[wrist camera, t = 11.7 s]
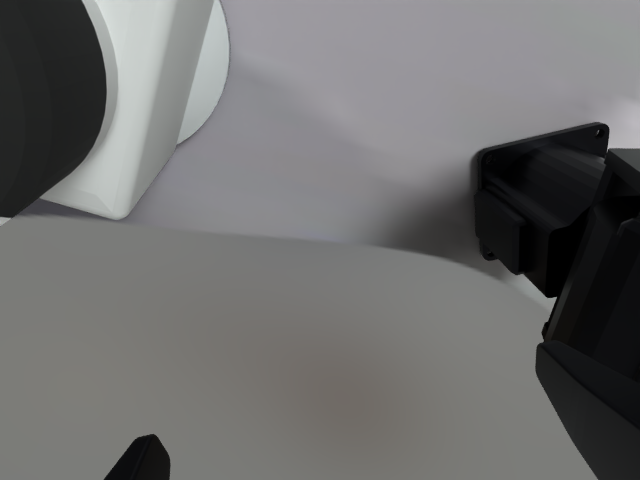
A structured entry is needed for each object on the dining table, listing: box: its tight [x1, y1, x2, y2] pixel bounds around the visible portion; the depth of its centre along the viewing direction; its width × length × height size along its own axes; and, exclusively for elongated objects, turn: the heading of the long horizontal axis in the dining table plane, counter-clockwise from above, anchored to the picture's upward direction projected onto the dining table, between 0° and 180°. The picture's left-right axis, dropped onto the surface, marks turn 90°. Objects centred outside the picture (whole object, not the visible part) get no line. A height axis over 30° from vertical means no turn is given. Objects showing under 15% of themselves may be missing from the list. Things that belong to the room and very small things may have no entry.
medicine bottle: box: [0, 0, 214, 226], centre depth 11 cm, size 7×7×12 cm
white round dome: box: [177, 0, 231, 144], centre depth 16 cm, size 9×9×1 cm
